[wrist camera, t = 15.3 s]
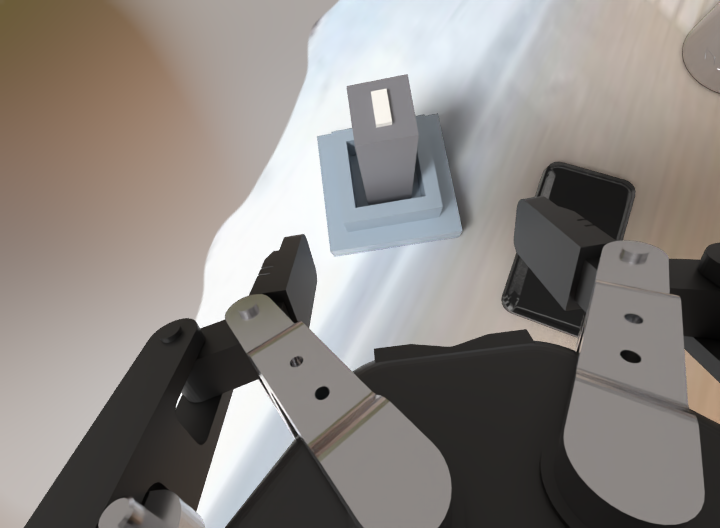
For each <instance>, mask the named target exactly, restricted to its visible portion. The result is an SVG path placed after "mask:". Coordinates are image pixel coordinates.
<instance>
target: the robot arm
mask: <svg viewBox="0 0 720 528" xmlns="http://www.w3.org/2000/svg"><path fill="white" fill-rule="evenodd" d="M683 59H684V62H685V65H686V67H687V69H688V71H689V72H690V73H691V75H692V76H693V77H694V78H695V79H696V80H697V81H698V82H699V83H701V84H702V85H704V86H705V87H707V88H709V89H710V90H713V91H715V92H718V93H720V2H719V3H718V4H717V5H716V6H715V7H714V8H713V9H712V10H711V11H710V12H709V13H708V14H707V15H706V16H705V17H704V18H703V19H702V20H701V21H700V22H699V23H698V24H697V25H696V26H695V27H694V28H693V29H692V31H691V32H690V33H689V34H688V36H687V38H686V40H685V42H684V46H683ZM514 246H515V249H516V252H517V253H518V255H519V256H520V257H521V258H522V260H523V261H524V262H525V263H526V264H527V266H528V267H529V268H530V269H531V270H532V272H533V273H534V274H535V275H536V276H537V278H538V279H539V280H540V281H541V282H542V284H543V285H544V286H545V287H546V288H547V290H548V291H549V292H550V293H551V294H552V296H553V297H554V298H555V299H556V301H557V302H558V303H559V304H560V305H561V307H562V308H563V309H564V310H565V311H569V310H577V309H583V310H584V311H585V312H584V315H583V319H582V323H581V327H580V331H579V335H578V339H577V343H576V348H575V351H574V350H571V349H569V348H566V347H563V346H560V345H556V344H551V343H547V342H540V341H533V339H532V337H531V336H530V334H529V333H528V331H527V330H526V329H525V330H517V331H509V332H501V333H494V334H487V335H484V336H481V337H479V338H476V339H473V340H470V341H467V342H464V343H462V344H459V345H456V346H452V347H442V346H429V345H415V344H408V345H400V346H392V347H385V348H377V349H374V355H375V360H374V361H372V362H369V363H367V364H365V365H363V366H361V367H359V368H357V369H356V370H354V371H353V372H352V371H351V370H350V369H349V368H348V367H347V366H346V365H345V364H344V363H343V362H342V361H341V360H340V359H339V358H338V357H337V356H336V355H335V354H334V353H333V352H332V351H331V350H330V349H329V348H328V347H327V346H326V345H325V344H324V343H323V342H322V341H321V340H320V339H319V338H318V337H317V336H316V335H315V334H314V333H313V332H312V331H311V330H310V329H309V326H310V320H311V314H312V308H313V302H314V296H315V291H316V285H317V274H316V269H315V265H314V262H313V258H312V255H311V252H310V248H309V245H308V242H307V239H306V237H305V235H304V234H301V235H295V236H289V237H285V238H284V239H283V242H282V245H281V247H280V250H279V251H273V252H272V253H271V254H270V255H269V256H268V257H267V258H266V259H265V261H264V263H263V265H262V267H261V268H262V269H261V270H260V272H259V274H258V275H259V276H257V279H256V281H255V283H254V285H253V288H252V290H251V292H250V294H249V296H247V297H244V298H242V299H240V300H238V301H237V302H235V303H234V304H233V305H232V306H231V307H230V308H229V309H228V310H227V312H226V314H225V320H223V321H220V322H217V323H215V324H212V325H209V326H206V327H203V328H201V329H200V328H199V326H198V324H197V323H196V321H195V320H193V319H189V318H185V319H179V320H176V321H173V322H171V323H169V324H167V325H165V326H163V327H162V328H160V329H159V330H157V331H156V333H154V334H153V335H152V336H151V337H150V339H149V340H148V342H147V343H146V345H145V346H144V348H143V349H142V351H141V352H140V354H139V355H138V357H137V358H136V360H135V361H134V363H133V364H132V366H131V367H130V369H129V370H128V372H127V373H126V375H125V376H124V378H123V379H122V381H121V382H120V384H119V385H118V387H117V388H116V390H115V391H114V393H113V394H112V396H111V397H110V399H109V400H108V402H107V403H106V405H105V406H104V408H103V409H102V411H101V412H100V414H99V416H98V417H97V418H96V420H95V421H94V423H93V424H92V426H91V427H90V429H89V431H88V432H87V433H86V435H85V436H84V438H83V439H82V441H81V442H80V444H79V445H78V447H77V448H76V450H75V452H74V453H73V454H72V456H71V457H70V459H69V461H68V462H67V464H66V465H65V466H64V468H63V469H62V471H61V473H60V474H59V475H58V477H57V479H56V480H55V482H54V483H53V485H52V486H51V488H50V489H49V491H48V492H47V494H46V495H45V497H44V498H43V500H42V501H41V503H40V504H39V506H38V508H37V509H36V510H35V512H34V513H33V515H32V516H31V518H30V519H29V521H28V522H27V524H26V525H25V527H24V528H205V526H204V522H203V519H202V518H201V516H200V515H199V514H198V513H196V511H197V507H198V504H199V501H200V497H201V494H202V491H203V488H204V484H205V481H206V478H207V474H208V471H209V468H210V465H211V461H212V458H213V455H214V451H215V448H216V445H217V442H218V438H219V435H220V432H221V428H222V425H223V422H224V419H225V415H226V412H227V409H228V405H229V402H230V399H231V396H232V392H233V389H235V388H238V387H240V386H242V385H245V384H247V383H250V382H252V381H255V380H257V379H258V380H259V382H260V384H261V385H262V387H263V388H264V390H265V392H266V393H267V395H268V397H269V398H270V400H271V401H272V403H273V405H274V406H275V408H276V409H277V411H278V413H279V414H280V416H281V418H282V419H283V421H284V423H285V424H286V426H287V428H288V430H289V431H290V433H291V435H292V436H293V438H294V441H293V442H292V444H291V445H290V446H289V447H288V449H287V450H286V451H285V452H284V454H283V455H282V456H281V457H280V459H279V460H278V461H277V463H276V464H275V465H274V466H273V468H272V469H271V470H270V471H269V473H268V474H267V475H266V476H265V478H264V479H263V480H262V481H261V483H260V484H259V485H258V486H257V488H256V489H255V490H254V491H253V493H252V494H251V495H250V497H249V498H248V499H247V500H246V502H245V503H244V504H243V505H242V507H241V508H240V509H239V510H238V512H237V513H236V514H235V515H234V517H233V518H232V519H231V520H230V522H229V523H228V524H227V526H226V527H225V528H720V424H718V423H716V422H714V421H712V420H710V419H708V418H706V417H704V416H703V415H701V414H699V413H697V412H695V411H693V410H691V409H689V406H688V397H687V382H686V367H685V352H684V349H685V350H686V351H687V352H688V353H689V354H690V355H691V356H692V357H693V358H695V359H696V360H697V361H698V362H699V363H700V364H701V365H702V366H703V367H704V368H705V369H706V370H707V371H708V372H709V373H710V374H711V375H712V376H713V377H714V378H715V379H716V380H717V381H718V382H719V383H720V243H715V244H711V245H709V246H708V247H707V248H706V250H705V252H704V254H703V256H702V258H701V260H691V259H669V258H668V255H667V254H666V253H665V252H664V251H663V250H661V249H659V248H657V247H655V246H653V245H650V244H647V243H643V242H637V241H625V240H624V241H616V240H615V239H613V238H612V237H610V236H609V235H607V234H606V233H605V232H603V231H602V230H600V229H599V228H597V227H596V226H593V224H592V223H590V222H589V221H587V220H585V218H583V217H582V216H580V215H579V214H577V213H576V212H574V211H572V210H569V209H566V208H563V207H558V206H557V205H556V204H554V203H553V202H551V201H550V200H549V199H547V198H546V197H544V196H539V197H533V198H527V199H521V200H520V201H519V202H518V205H517V213H516V222H515V232H514ZM181 393H182V394H183V395H182V397H181V399H180V401H179V403H178V406H177V408H176V403H177V400H178V398H179V396H180V394H181Z"/></svg>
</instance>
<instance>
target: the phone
mask: <svg viewBox="0 0 720 528" xmlns="http://www.w3.org/2000/svg"><path fill="white" fill-rule="evenodd" d="M635 192H636V191H635V188H634V186H633V185H632V184H631V183H630V182H629V181H626V180H623V179H620V178H616V177H613V176H609V175H606V174H602V173H599V172H595V171H591V170H588V169H584V168H581V167H577V166H574V165H570V164H567V163H563V162H554V163H552V164H550V165H549V166H548V167H547V168H546V169H545V170H544V172H543V174H542V177H541V180H540V183H539V186H538V189H537V192H536V195H535V197H539V196H544V197H546V198H547V199H549V200H550V201H551V202H553V203H554V204H556V205H557V206H558V207H563V208H566V209H569V210H572V211H574V212H576V213H577V214H579V215H580V216H582V217H583V218H585V220H587V221H589V222H590V223H592V224H593V226H596V227H597V228H599V229H600V230H602V231H603V232H605V233H606V234H607V235H609V236H610V237H612V238H613V239H615V240H616V241H623V237H624V234H625V230H626V226H627V223H628V219H629V216H630V212H631V209H632V205H633V201H634V198H635ZM502 305H503V307H504V308H505V309H506V310H507V311H508V312H510V313H512V314H515V315H517V316H520V317H523V318H525V319H528V320H531V321H534V322H536V323H539V324H542V325H544V326H547V327H550V328H552V329H555V330H558V331H560V332H563V333H566V334H569V335H571V336H574V337H578V335H579V331H580V327H581V323H582V319H583V315H584V312H585V311H584V310H583V309H577V310H569V311H565V310H564V309H563V308H562V307H561V305H560V304H559V303H558V302H557V301H556V299H555V298H554V297H553V296H552V294H551V293H550V292H549V291H548V290H547V288H546V287H545V286H544V285H543V284H542V282H541V281H540V280H539V279H538V278H537V276H536V275H535V274H534V273H533V272H532V270H531V269H530V268H529V267H528V266H527V264H526V263H525V262H524V261H523V260H522V258H521V257H520V256H519V255H518V253H516V256H515V259H514V262H513V265H512V268H511V271H510V274H509V277H508V280H507V283H506V286H505V289H504V292H503V295H502Z"/></svg>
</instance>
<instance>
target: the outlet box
mask: <svg viewBox="0 0 720 528" xmlns="http://www.w3.org/2000/svg"><path fill="white" fill-rule="evenodd" d="M415 117H416V122H417V128H418V133H419V137H418V145H417V154H416V163H415V171H414V180H413V188H412V197H411V199H405V200H399V201H394V202H388V203H382V204H376V205H370V206H368V202H367V197H366V193H365V188H364V184H363V180H362V175H361V171H360V167H359V162H358V158H357V153H356V149H355V144H354V137H353V129H352V128H350V129H345V130H340V131H335V132H332V134H327V135H322V136H317V140H318V148H319V157H320V165H321V174H322V183H323V191H324V200H325V208H326V217H327V225H328V234H329V243H330V251H331V253H332V254H333V255H334V256H341V255H348V254H354V253H360V252H367V251H373V250H379V249H386V248H392V247H399V246H405V245H411V244H418V243H424V242H430V241H437V240H443V239H450V238H456V237H459V235H460V234H461V232H462V231H463V230H462V226H461V221H460V216H459V211H458V207H457V202H456V197H455V192H454V188H453V183H452V178H451V174H450V169H449V164H448V159H447V155H446V150H445V145H444V140H443V136H442V131H441V126H440V121H439V117H438V114H432V115H427V116H425V115H419V116H415Z"/></svg>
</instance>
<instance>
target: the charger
mask: <svg viewBox="0 0 720 528" xmlns="http://www.w3.org/2000/svg"><path fill="white" fill-rule="evenodd" d="M347 93H348V100H349V107H350V115H351V122H352V129H353V137H354V144H355V149H356V153H357V158H358V162H359V167H360V171H361V175H362V180H363V184H364V188H365V193H366V197H367V202H368V206H370V205H376V204H382V203H388V202H394V201H399V200H405V199H411V197H412V188H413V180H414V171H415V163H416V154H417V145H418V137H419V133H418V128H417V122H416V117H415V112H414V106H413V101H412V96H411V90H410V85H409V80H408V74H406V75H401V76H396V77H391V78H386V79H381V80H376V81H371V82H365V83H360V84H355V85H350V86H347Z"/></svg>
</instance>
